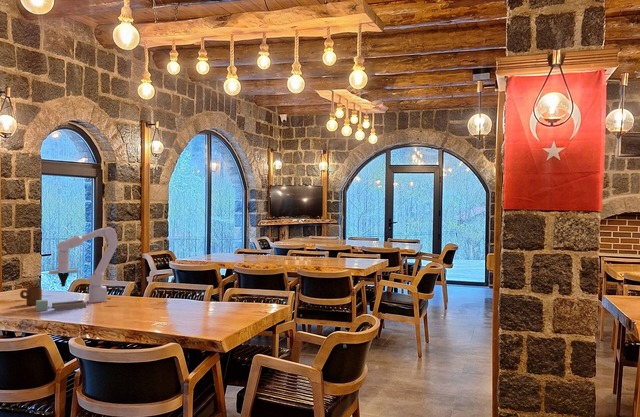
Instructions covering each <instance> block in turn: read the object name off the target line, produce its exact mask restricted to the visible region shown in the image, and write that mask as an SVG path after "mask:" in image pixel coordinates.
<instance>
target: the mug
mask: <svg viewBox="0 0 640 417" xmlns="http://www.w3.org/2000/svg"><path fill="white" fill-rule="evenodd" d="M42 288H43V287H41V286H32V287H31V286H29V287H27V288H26V289H22V290H21V291H20V293H19V295H20V298H21V299H23V300H25V303H26V306H36V300H43V299H42V298H43V297H42V296H43V291H42ZM24 293H25V294H26V295H25V294H24Z"/></svg>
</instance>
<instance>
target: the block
mask: <svg viewBox="0 0 640 417" xmlns="http://www.w3.org/2000/svg"><path fill="white" fill-rule="evenodd" d="M48 305H49V302H48V299H42V300H36V305H35V310H36V312H44V311H43V310H46V311H48V309H49V306H48Z"/></svg>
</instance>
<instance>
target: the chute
mask: <svg viewBox="0 0 640 417" xmlns="http://www.w3.org/2000/svg"><path fill="white" fill-rule="evenodd" d="M76 308H77V309H85V308H87V303H86V302H85V301H84V300H83V299H82V300H81V299H80V300H70V301H59V302H58V301H57V302H52V303H51V309H54V311H64V310H75V309H76ZM77 309H76V310H77Z"/></svg>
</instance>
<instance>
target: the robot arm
mask: <svg viewBox="0 0 640 417" xmlns="http://www.w3.org/2000/svg"><path fill="white" fill-rule="evenodd" d="M97 237H101V238H105V239H106V241H107V243H108V245H107V247H106V249H105V251H104V252H103V255H102V257H101V259H100V261H99V263H98V265H97V267H96V269H95V270H94V272H93V273H92V274H91V275H90V276H89V279H88V281H89V283H90V284H89V286H88V299H87V300H86V301H87V302H88V303H90V304H92V303H101V302H102V303H104V302H105V303H106V302H108V300H107V296H108V295H107V293H108V292H107V291H108V290H107V286H106V285H103V284H102V283H103V277H104V275H105V271H106V269H107V267H108V266H109V264H110V261H111V260H112V258H113V256H114V253H115V252H116V249H117V248H118V246H119V245H118V244H119V241H118V233H117V232H116V230H115V228H113V227H110V226H106V227H104V228H103V227H101V228H98V229H96V230H94V231H91V232H88V233H86V234H84V235H82V236H81V235H76V234H75V235H73V236H72V237H70V238H65V240H62V241H60V242H58V245H57V250H58V252H57V253H58V254H57V269H54V270H52V269H51V270H49V271H48V274H49V275H57V276H58V278H59V281H60V285H61V287H65V286H66V282H67V280H68V278H69V276H70V274H77V273H78V269H77V268H75V269H74V268H71V269H70V254H69V252H70V251H69V250H70V249H74V248H77V247H79V246H81V245H83V244H84V242H87V241H89V240H91V239H94V238H97Z"/></svg>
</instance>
